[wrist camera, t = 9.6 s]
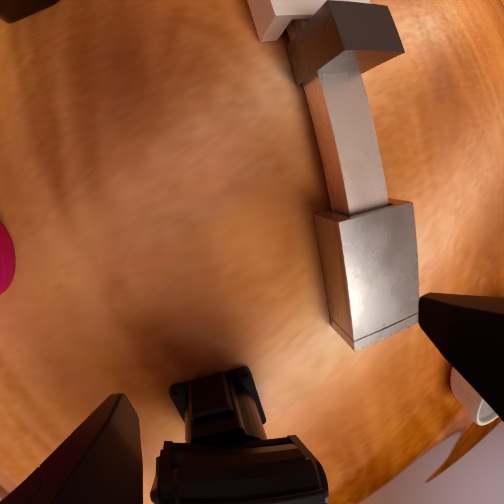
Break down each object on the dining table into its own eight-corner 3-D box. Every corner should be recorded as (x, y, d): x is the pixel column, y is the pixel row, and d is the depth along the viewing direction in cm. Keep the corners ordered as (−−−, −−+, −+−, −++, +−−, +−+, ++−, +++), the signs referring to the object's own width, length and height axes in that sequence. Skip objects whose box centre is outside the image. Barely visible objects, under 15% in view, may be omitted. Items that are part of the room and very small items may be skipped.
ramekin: (512, 335, 31) (545, 354, 24) (457, 408, 32) (486, 435, 25) (494, 283, 27) (538, 302, 20) (426, 376, 28) (465, 410, 21)
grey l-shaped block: (372, 207, 21) (438, 221, 15) (327, 219, 21) (385, 239, 14) (321, 7, 17) (365, -39, 10) (273, 7, 17) (306, -47, 10)
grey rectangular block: (348, 38, 18) (376, 17, 14) (260, 42, 17) (275, 15, 14) (333, -3, 17) (356, -27, 13) (246, -2, 16) (258, -32, 12)
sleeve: (390, 303, 24) (418, 322, 20) (331, 326, 23) (354, 351, 19) (379, 196, 22) (412, 202, 18) (312, 214, 21) (338, 222, 17)
